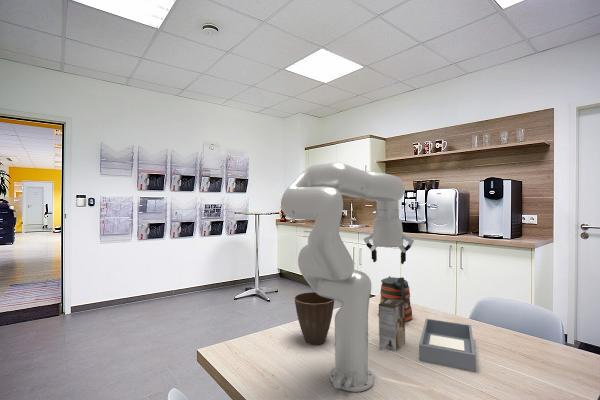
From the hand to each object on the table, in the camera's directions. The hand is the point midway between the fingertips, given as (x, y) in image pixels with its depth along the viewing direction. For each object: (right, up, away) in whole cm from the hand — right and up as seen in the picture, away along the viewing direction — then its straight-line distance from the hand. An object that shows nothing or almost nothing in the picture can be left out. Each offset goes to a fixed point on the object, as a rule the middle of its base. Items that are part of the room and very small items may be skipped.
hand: (388, 262), depth 111 cm
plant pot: (-26, -30, +4) cm, 40 cm away
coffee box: (+1, -30, -1) cm, 30 cm away
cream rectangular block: (+16, -29, -11) cm, 35 cm away
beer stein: (+12, -31, +27) cm, 42 cm away
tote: (+19, -30, -5) cm, 36 cm away
